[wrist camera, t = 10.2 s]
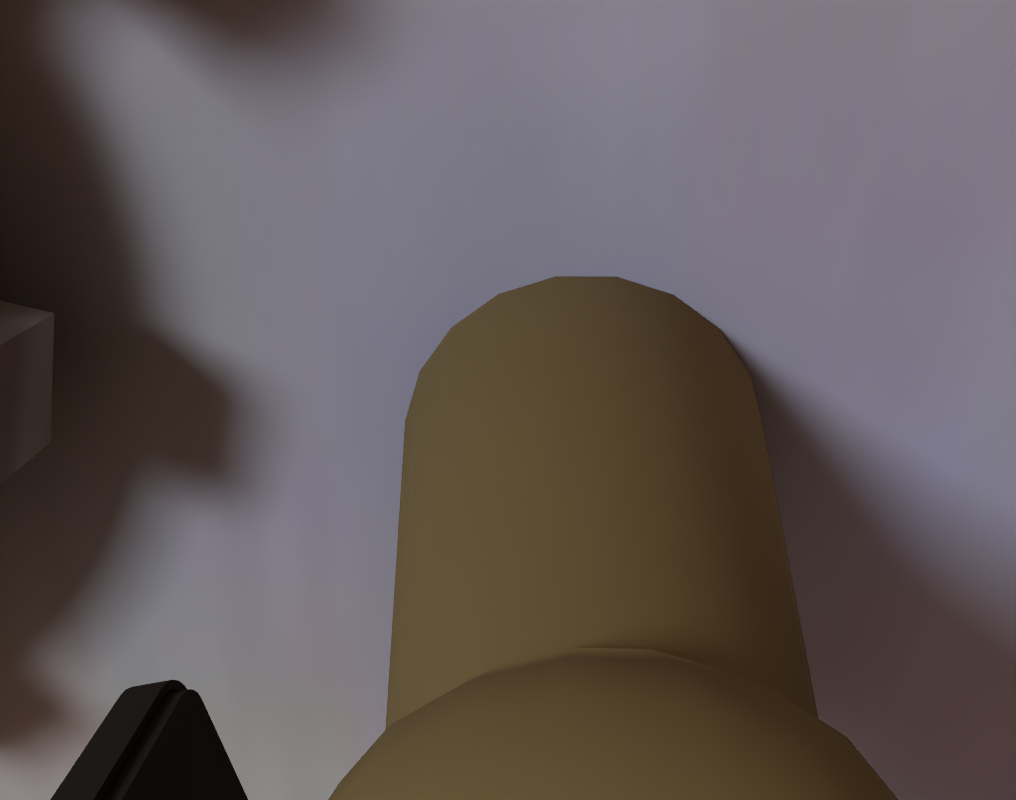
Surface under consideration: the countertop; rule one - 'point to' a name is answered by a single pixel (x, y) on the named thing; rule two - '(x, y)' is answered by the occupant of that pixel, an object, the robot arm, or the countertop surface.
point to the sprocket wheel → (24, 384)
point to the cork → (595, 570)
